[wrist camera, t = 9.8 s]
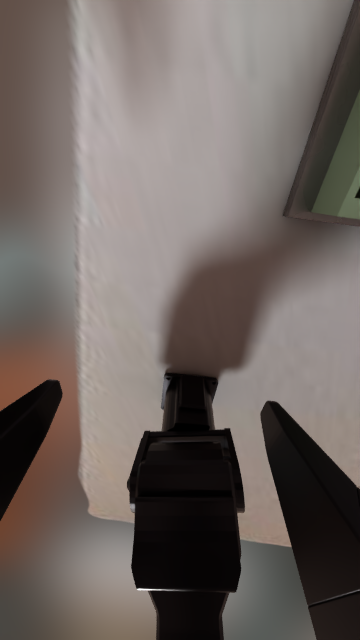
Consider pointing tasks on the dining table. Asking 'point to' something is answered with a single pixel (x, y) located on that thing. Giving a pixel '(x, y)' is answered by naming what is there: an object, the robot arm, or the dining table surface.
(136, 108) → the dining table surface
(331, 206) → the green block with holes
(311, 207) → the grey peg plate
